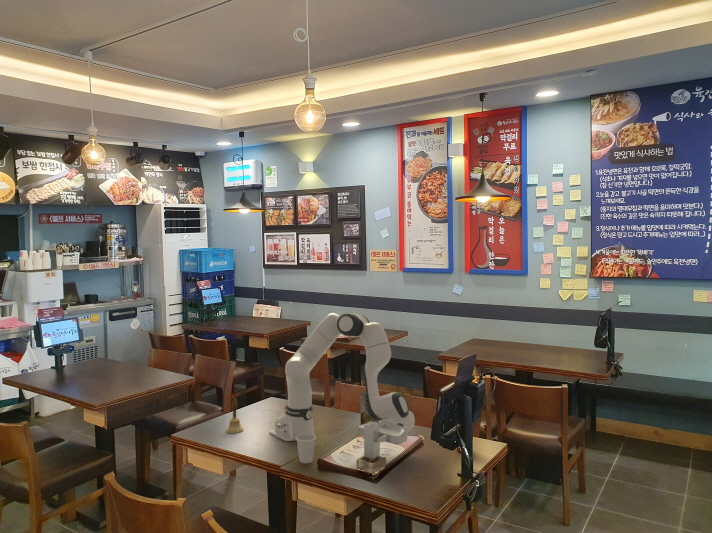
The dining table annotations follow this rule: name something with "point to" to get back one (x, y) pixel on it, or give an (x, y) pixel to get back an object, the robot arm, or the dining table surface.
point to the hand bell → (234, 420)
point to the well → (371, 464)
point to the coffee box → (365, 409)
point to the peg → (371, 439)
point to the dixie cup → (306, 447)
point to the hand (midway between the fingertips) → (370, 439)
